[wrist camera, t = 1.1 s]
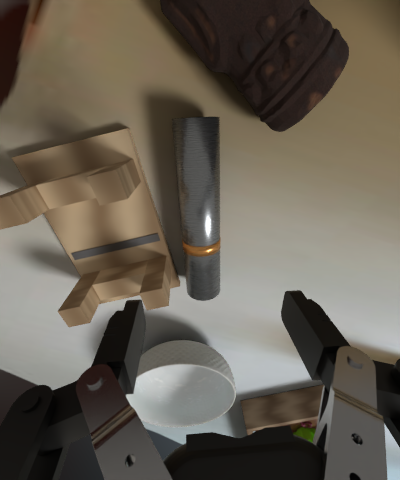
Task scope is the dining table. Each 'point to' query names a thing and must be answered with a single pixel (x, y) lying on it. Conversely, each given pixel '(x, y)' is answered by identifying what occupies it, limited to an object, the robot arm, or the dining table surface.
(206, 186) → the tube
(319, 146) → the dining table surface
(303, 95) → the dark brown boot
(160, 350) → the cereal bowl
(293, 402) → the planter box
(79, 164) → the cradle board
